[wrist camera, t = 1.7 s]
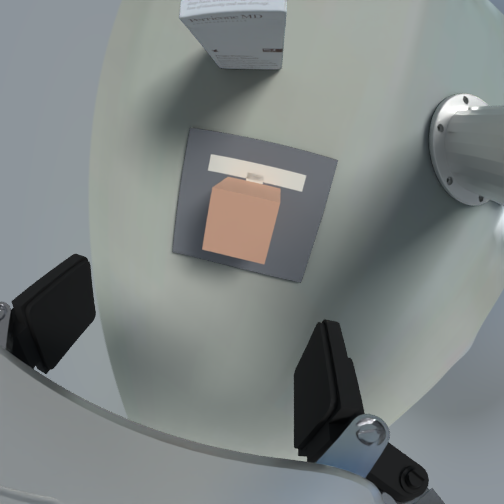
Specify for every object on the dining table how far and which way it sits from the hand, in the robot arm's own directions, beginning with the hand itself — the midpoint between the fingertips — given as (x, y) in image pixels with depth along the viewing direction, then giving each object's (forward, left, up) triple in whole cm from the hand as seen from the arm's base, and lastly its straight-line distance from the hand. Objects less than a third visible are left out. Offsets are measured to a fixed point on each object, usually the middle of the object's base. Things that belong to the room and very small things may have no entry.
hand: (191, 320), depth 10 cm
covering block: (0, 0, -17) cm, 17 cm away
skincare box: (+3, -16, -18) cm, 24 cm away
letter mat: (0, 0, -18) cm, 18 cm away
